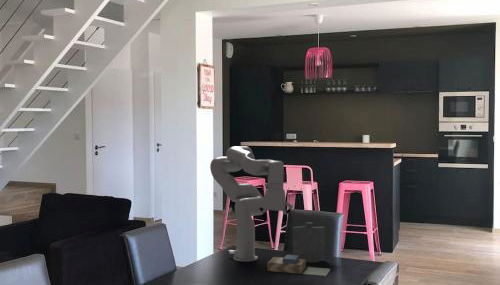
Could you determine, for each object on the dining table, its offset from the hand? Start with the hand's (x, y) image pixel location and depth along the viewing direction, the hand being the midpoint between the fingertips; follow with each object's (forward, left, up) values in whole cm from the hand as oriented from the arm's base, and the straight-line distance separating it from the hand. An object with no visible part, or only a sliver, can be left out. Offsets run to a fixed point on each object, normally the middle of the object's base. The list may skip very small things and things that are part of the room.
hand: (274, 221), depth 260 cm
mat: (+21, -1, -22) cm, 31 cm away
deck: (+6, -1, -22) cm, 23 cm away
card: (+8, -1, -18) cm, 20 cm away
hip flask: (+13, +18, -23) cm, 32 cm away
